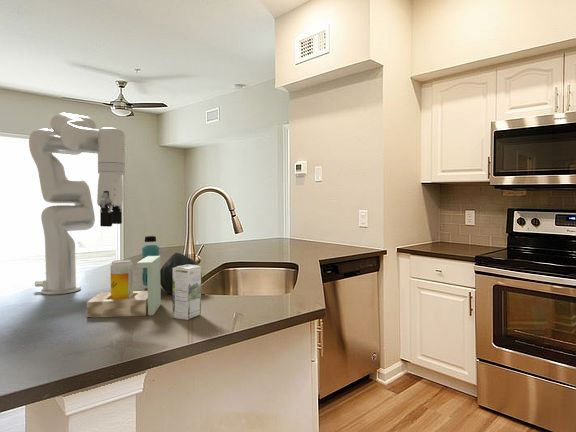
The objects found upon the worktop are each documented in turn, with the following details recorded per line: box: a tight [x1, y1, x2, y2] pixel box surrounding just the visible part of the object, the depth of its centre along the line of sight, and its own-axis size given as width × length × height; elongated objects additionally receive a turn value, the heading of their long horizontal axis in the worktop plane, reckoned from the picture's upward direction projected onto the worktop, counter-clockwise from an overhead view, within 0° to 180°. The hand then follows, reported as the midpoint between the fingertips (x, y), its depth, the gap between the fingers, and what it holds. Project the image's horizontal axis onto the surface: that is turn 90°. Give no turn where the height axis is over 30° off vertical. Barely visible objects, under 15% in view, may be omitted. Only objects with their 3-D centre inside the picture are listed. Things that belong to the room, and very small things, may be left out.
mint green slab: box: [136, 255, 162, 316], centre depth 118 cm, size 4×14×16 cm, turn 8°
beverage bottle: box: [141, 235, 160, 287], centre depth 148 cm, size 6×7×20 cm
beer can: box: [109, 259, 134, 299], centre depth 117 cm, size 6×6×15 cm
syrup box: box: [172, 265, 202, 321], centre depth 111 cm, size 6×6×14 cm
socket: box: [86, 290, 148, 318], centre depth 117 cm, size 16×12×4 cm
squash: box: [160, 252, 203, 295], centre depth 142 cm, size 14×15×15 cm
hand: (111, 225), depth 120 cm, fingers open, 9 cm apart
